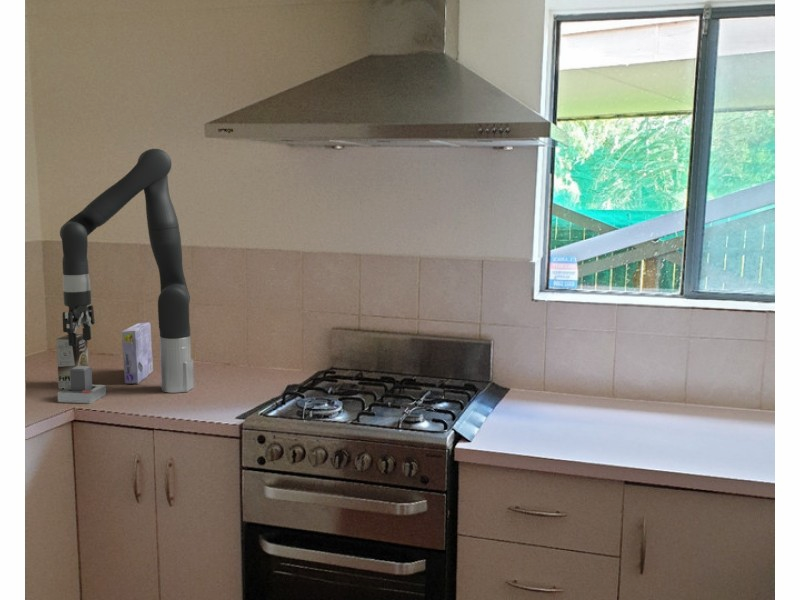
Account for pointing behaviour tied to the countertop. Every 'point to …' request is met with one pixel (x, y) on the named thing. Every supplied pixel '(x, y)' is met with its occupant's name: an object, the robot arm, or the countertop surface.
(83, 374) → the gray block
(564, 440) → the countertop surface
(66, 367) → the coffee box
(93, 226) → the robot arm
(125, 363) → the cake pan box
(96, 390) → the socket
